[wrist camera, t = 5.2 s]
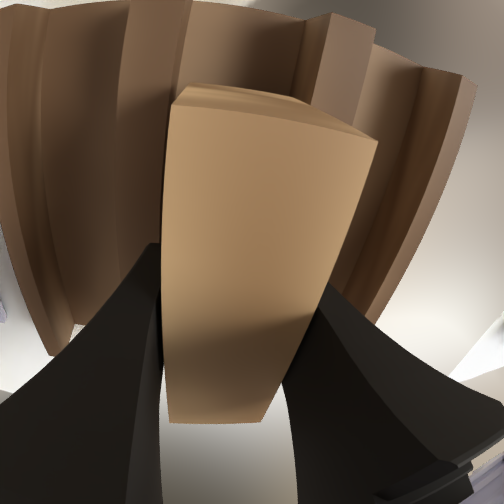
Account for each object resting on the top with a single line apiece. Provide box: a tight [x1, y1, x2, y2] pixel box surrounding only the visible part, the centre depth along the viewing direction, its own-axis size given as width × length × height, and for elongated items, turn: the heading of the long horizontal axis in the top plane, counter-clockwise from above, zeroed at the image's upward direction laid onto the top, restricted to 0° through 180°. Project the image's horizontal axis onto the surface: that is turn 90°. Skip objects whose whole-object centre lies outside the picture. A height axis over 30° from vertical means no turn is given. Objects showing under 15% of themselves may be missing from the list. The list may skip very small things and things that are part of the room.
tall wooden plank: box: [161, 82, 378, 424], centre depth 8 cm, size 3×9×5 cm, turn 169°
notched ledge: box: [0, 0, 477, 356], centre depth 12 cm, size 17×16×3 cm
